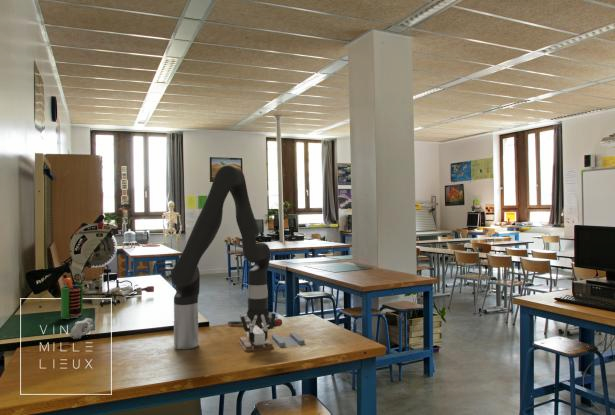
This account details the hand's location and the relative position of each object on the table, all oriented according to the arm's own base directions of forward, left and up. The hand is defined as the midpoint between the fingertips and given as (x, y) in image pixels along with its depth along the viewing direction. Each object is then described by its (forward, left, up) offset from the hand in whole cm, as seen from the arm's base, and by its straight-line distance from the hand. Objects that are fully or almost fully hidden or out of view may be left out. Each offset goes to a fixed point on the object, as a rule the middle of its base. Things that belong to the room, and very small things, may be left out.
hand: (258, 340), depth 171 cm
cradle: (0, +4, -4) cm, 6 cm away
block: (0, +4, -1) cm, 4 cm away
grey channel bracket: (+13, +4, -4) cm, 14 cm away
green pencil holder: (-76, +87, -4) cm, 115 cm away
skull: (-66, +48, -5) cm, 82 cm away
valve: (+8, +38, -5) cm, 39 cm away
